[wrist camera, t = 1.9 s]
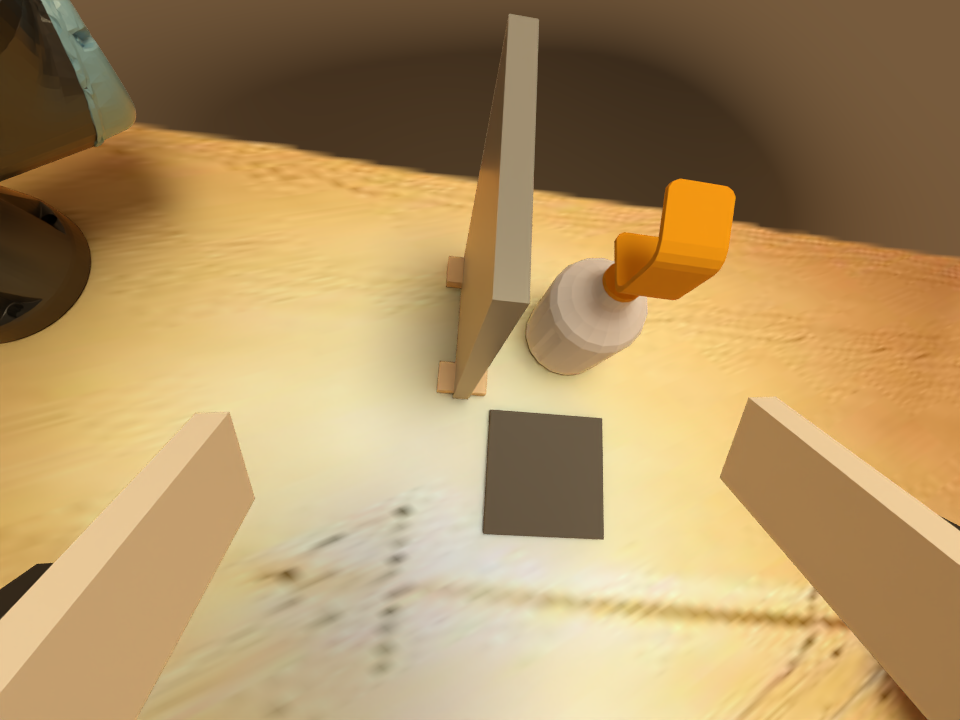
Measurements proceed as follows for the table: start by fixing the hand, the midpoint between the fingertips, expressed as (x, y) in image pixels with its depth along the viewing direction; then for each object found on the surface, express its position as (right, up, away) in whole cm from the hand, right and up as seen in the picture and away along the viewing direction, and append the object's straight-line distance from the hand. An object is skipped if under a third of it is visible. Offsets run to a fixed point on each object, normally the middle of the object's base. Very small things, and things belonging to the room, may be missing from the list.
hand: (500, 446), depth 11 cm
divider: (-2, +6, +35) cm, 35 cm away
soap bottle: (+9, +5, +36) cm, 38 cm away
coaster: (+6, -9, +32) cm, 34 cm away
